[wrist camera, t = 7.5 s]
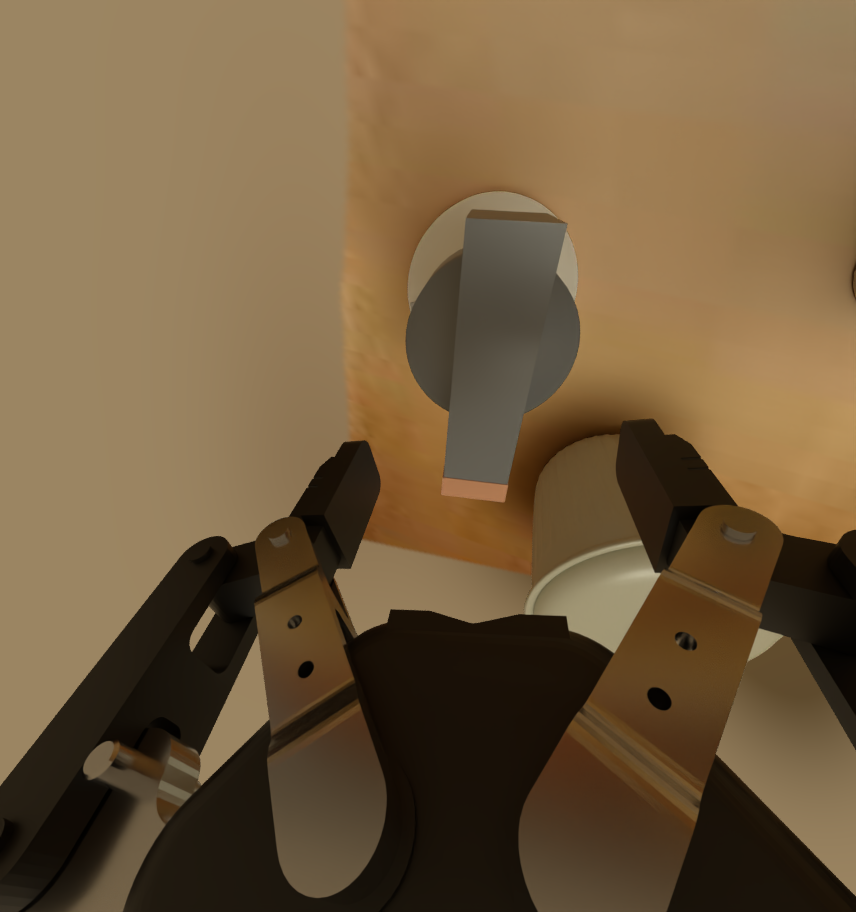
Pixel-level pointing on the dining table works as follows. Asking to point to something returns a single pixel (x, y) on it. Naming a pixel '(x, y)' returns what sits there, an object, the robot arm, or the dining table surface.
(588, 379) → the dining table surface
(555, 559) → the canister
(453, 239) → the post base
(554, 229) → the twist cap
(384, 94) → the dining table surface
